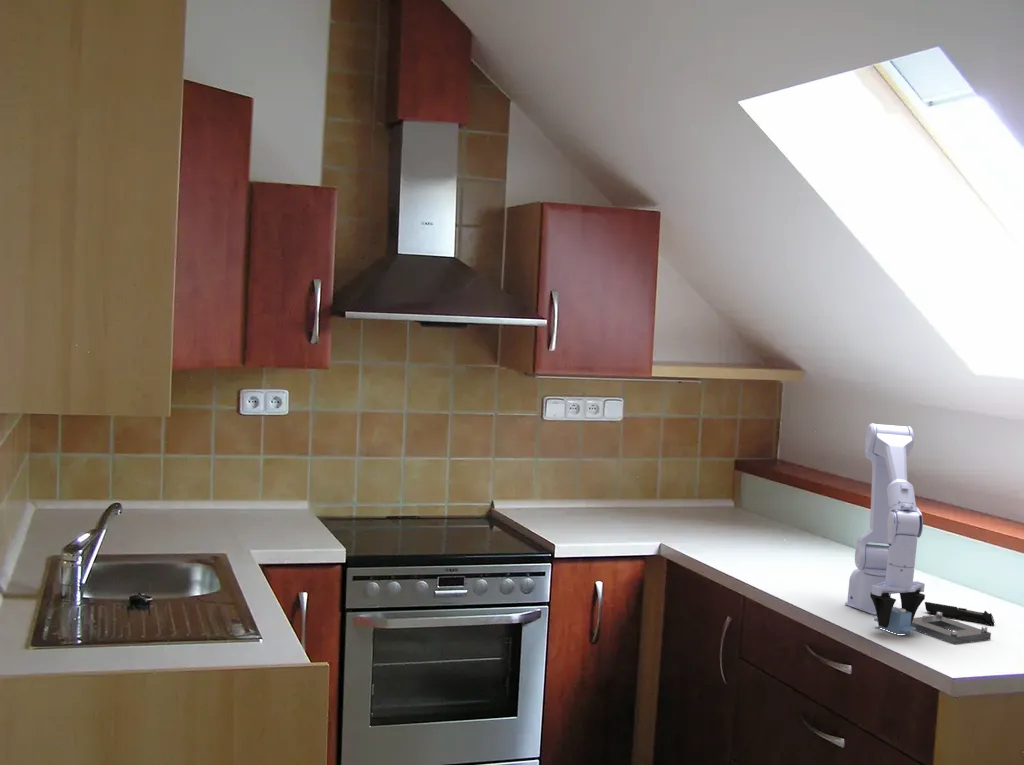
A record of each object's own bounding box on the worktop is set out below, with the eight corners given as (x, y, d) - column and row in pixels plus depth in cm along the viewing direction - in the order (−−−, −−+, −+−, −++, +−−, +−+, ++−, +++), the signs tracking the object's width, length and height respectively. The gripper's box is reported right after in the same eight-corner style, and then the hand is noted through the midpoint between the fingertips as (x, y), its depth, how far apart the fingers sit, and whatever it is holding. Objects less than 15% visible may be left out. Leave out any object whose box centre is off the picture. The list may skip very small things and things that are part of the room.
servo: (873, 627, 249) (875, 602, 248) (884, 625, 250) (886, 601, 250) (903, 638, 241) (906, 613, 241) (915, 637, 243) (917, 611, 243)
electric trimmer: (924, 612, 267) (926, 599, 267) (994, 624, 260) (996, 611, 260) (922, 615, 264) (923, 602, 264) (993, 627, 257) (994, 614, 257)
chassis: (901, 625, 251) (903, 614, 251) (937, 621, 257) (938, 610, 257) (953, 644, 239) (955, 632, 239) (990, 639, 245) (991, 628, 245)
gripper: (892, 570, 238) (886, 633, 239) (938, 567, 245) (931, 627, 246) (866, 562, 244) (860, 623, 245) (912, 559, 251) (906, 618, 252)
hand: (894, 625), depth 246 cm, fingers open, 7 cm apart
